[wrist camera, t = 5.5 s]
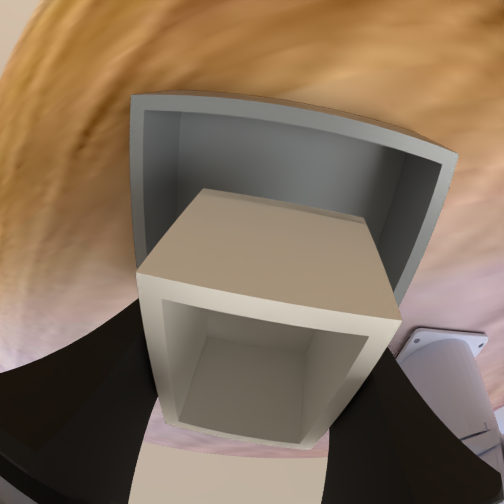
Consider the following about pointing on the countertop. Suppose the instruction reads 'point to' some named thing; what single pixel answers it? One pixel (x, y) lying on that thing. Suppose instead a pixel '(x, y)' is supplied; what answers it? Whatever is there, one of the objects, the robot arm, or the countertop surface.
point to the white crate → (263, 317)
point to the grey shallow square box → (286, 167)
